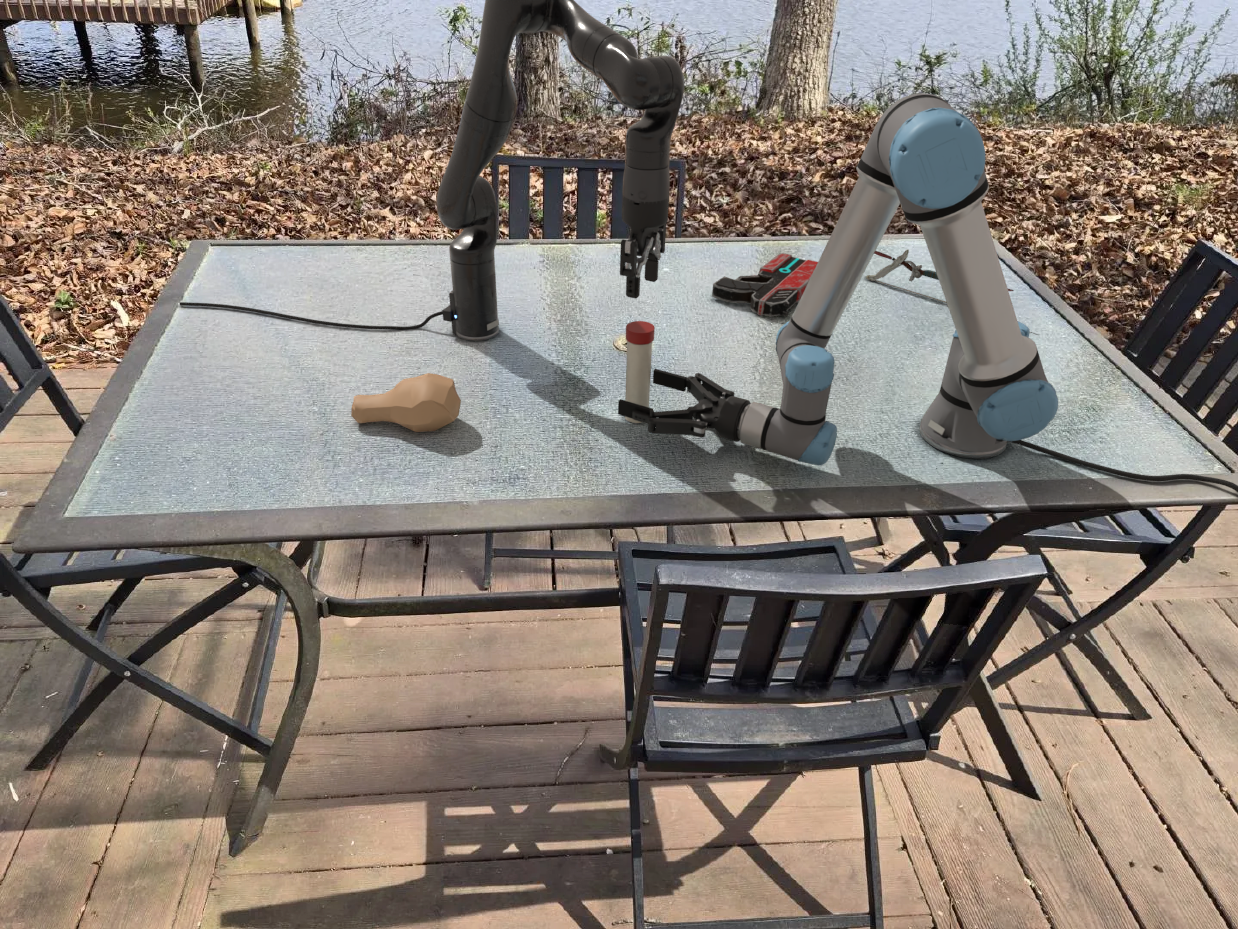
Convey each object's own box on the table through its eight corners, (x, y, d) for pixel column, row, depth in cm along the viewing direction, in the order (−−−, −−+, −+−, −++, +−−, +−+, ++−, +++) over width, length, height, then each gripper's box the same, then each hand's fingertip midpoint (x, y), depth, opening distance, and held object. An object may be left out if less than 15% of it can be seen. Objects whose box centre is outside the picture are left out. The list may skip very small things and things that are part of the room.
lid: (636, 347, 152) (636, 335, 151) (620, 336, 156) (620, 324, 154) (659, 340, 155) (660, 329, 153) (643, 330, 158) (643, 318, 157)
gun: (708, 284, 207) (784, 305, 199) (760, 245, 229) (831, 262, 221) (706, 302, 209) (781, 323, 201) (758, 261, 231) (828, 278, 223)
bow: (1006, 319, 205) (1018, 279, 199) (1003, 322, 204) (1015, 281, 198) (860, 274, 226) (867, 237, 221) (856, 276, 225) (863, 238, 220)
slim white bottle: (633, 425, 162) (637, 336, 152) (620, 415, 165) (622, 327, 155) (653, 419, 164) (657, 331, 154) (639, 408, 167) (643, 321, 157)
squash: (461, 438, 156) (449, 399, 150) (353, 447, 158) (336, 409, 152) (469, 400, 164) (458, 361, 158) (366, 408, 166) (350, 370, 160)
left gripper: (641, 178, 148) (638, 271, 157) (606, 201, 137) (604, 299, 146) (683, 184, 145) (677, 278, 154) (650, 208, 134) (646, 308, 143)
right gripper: (714, 474, 145) (602, 439, 153) (768, 409, 163) (666, 381, 171) (718, 436, 140) (603, 401, 149) (773, 373, 159) (668, 346, 167)
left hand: (641, 288), depth 150 cm, fingers open, 7 cm apart
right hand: (637, 390), depth 160 cm, fingers open, 13 cm apart
